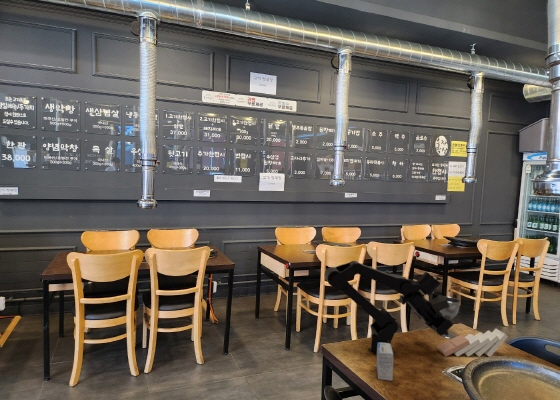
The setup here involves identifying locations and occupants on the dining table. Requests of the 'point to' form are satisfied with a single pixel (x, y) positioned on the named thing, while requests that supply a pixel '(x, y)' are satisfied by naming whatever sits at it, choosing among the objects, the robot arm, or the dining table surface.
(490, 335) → the domino
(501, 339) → the domino
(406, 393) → the dining table surface
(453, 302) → the wine glass
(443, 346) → the domino
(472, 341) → the domino
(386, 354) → the medicine box
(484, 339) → the domino
